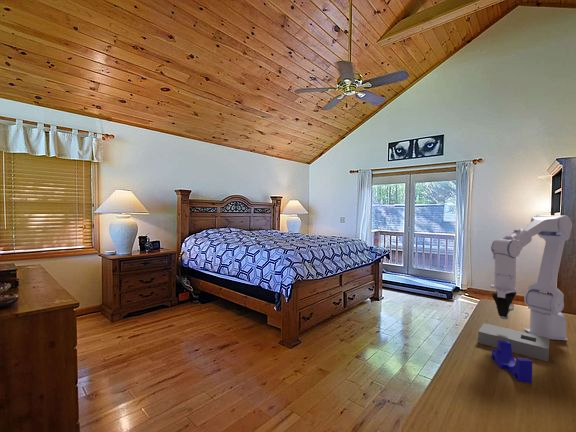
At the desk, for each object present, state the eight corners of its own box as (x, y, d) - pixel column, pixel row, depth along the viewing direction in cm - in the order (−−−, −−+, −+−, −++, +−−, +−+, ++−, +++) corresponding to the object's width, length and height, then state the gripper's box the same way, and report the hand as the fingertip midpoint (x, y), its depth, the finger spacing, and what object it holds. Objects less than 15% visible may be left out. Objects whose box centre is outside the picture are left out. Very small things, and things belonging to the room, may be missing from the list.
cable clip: (491, 359, 90) (491, 339, 90) (508, 360, 89) (508, 341, 89) (512, 381, 78) (513, 359, 78) (531, 383, 77) (532, 361, 77)
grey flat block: (549, 350, 95) (549, 338, 95) (548, 361, 88) (548, 348, 88) (483, 333, 107) (483, 323, 107) (478, 342, 100) (478, 331, 100)
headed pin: (508, 315, 101) (508, 301, 101) (517, 321, 96) (517, 306, 96) (491, 314, 102) (491, 300, 102) (499, 320, 97) (499, 305, 97)
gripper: (494, 269, 107) (493, 306, 107) (486, 276, 96) (485, 316, 97) (518, 272, 102) (518, 310, 102) (513, 279, 91) (512, 322, 92)
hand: (504, 314), depth 99 cm, fingers closed on headed pin, 5 cm apart
